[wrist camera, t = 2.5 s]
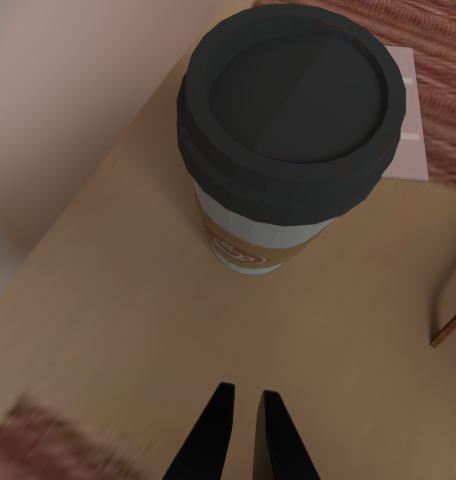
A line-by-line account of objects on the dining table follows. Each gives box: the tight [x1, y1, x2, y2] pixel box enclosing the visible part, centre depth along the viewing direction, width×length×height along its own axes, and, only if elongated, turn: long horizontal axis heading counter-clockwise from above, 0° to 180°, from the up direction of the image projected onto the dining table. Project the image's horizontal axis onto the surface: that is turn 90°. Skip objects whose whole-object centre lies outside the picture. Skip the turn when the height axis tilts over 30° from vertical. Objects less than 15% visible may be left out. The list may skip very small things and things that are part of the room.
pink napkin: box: [381, 46, 429, 181], centre depth 29 cm, size 16×14×1 cm
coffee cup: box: [177, 3, 406, 275], centre depth 18 cm, size 8×8×15 cm
